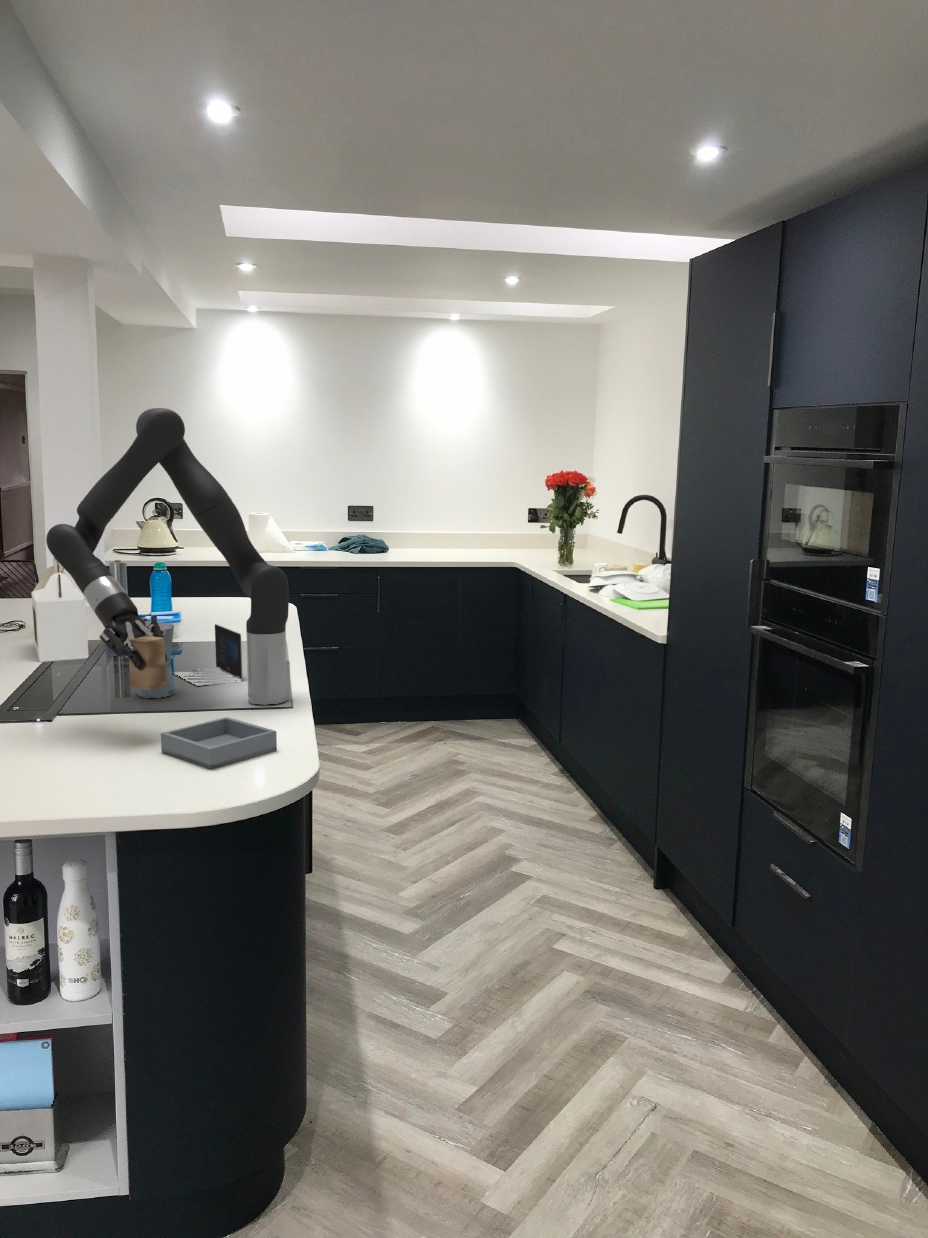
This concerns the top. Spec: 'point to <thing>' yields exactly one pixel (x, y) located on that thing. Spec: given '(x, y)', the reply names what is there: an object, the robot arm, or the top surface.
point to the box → (218, 742)
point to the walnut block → (149, 663)
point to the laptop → (223, 655)
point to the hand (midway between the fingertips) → (154, 665)
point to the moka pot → (169, 687)
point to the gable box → (59, 617)
